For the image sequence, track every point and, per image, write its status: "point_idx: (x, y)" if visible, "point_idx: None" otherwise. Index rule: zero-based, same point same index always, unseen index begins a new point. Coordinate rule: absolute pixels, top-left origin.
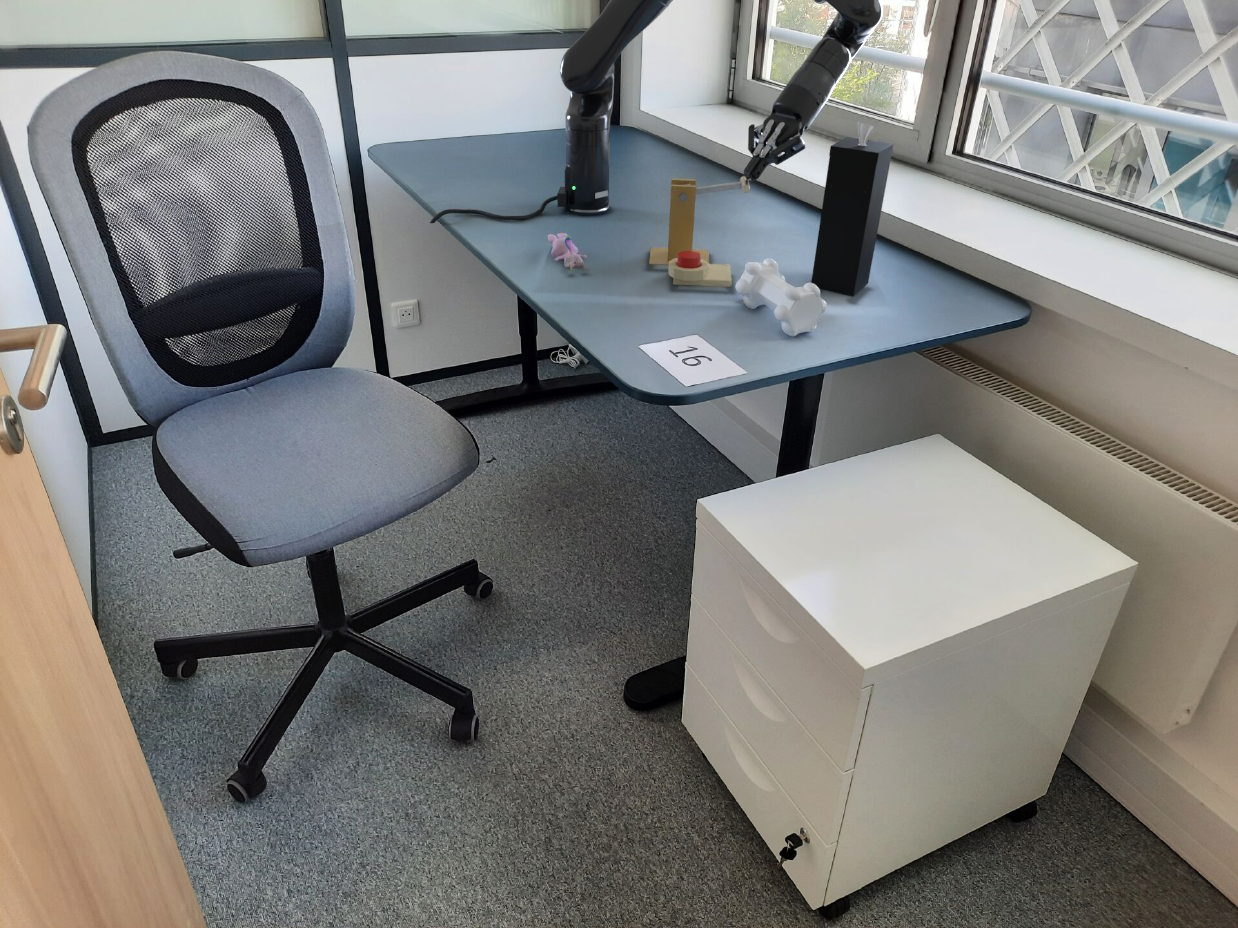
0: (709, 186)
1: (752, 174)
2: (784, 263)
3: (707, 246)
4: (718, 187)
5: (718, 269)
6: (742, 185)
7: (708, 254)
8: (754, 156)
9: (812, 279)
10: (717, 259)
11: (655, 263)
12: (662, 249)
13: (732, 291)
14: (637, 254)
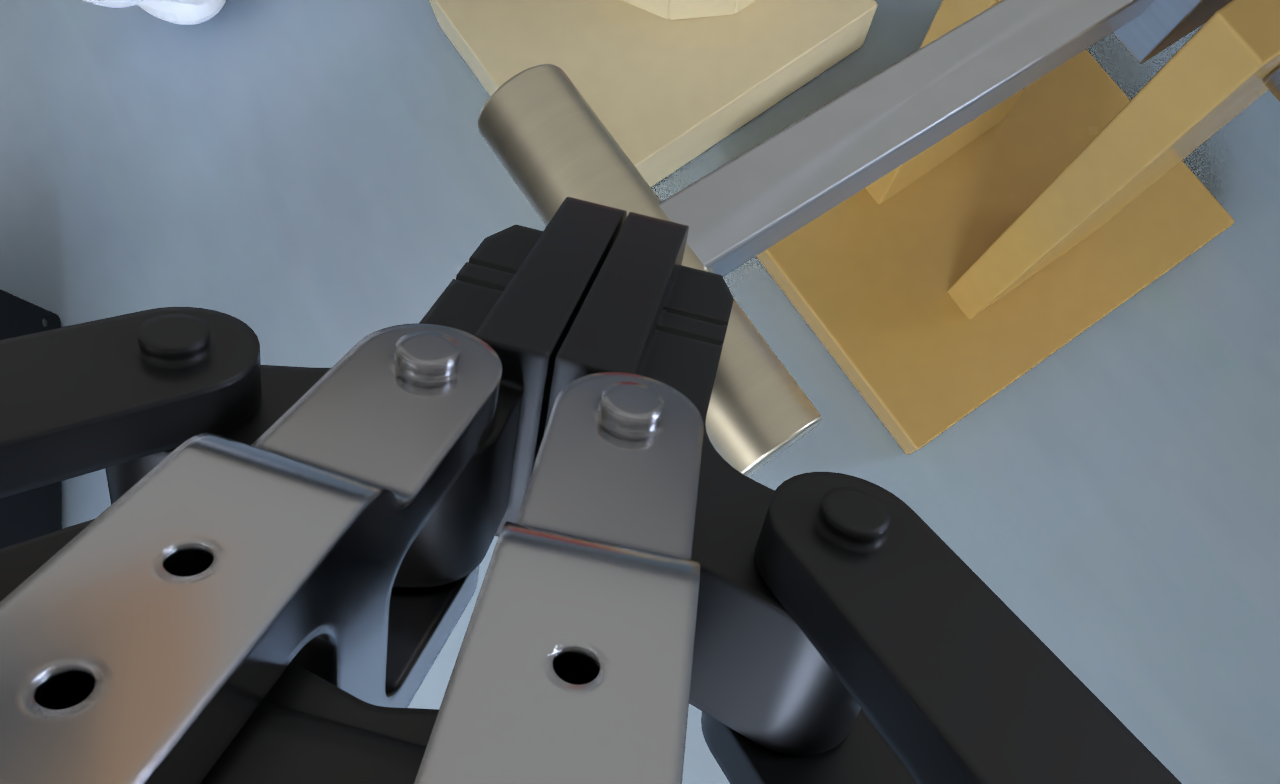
0: (996, 37)
1: (535, 236)
2: (422, 689)
3: (1032, 627)
4: (891, 75)
5: (586, 79)
6: (582, 100)
7: (857, 369)
8: (632, 376)
9: (5, 295)
10: (817, 443)
11: None
12: (1149, 238)
13: (443, 52)
14: (1261, 171)
